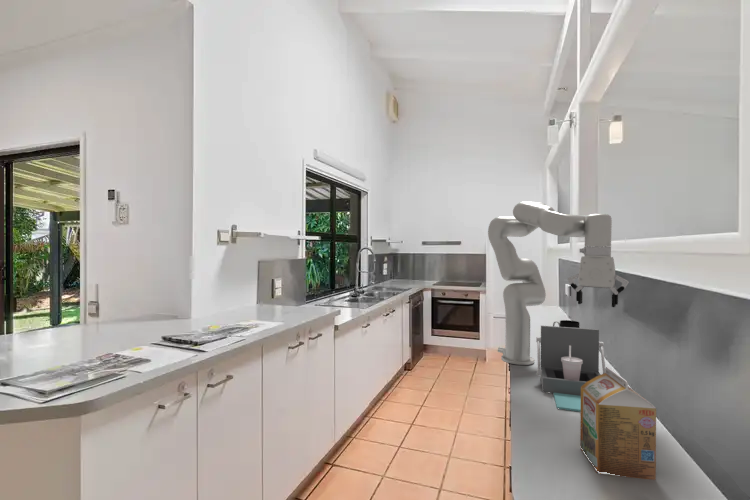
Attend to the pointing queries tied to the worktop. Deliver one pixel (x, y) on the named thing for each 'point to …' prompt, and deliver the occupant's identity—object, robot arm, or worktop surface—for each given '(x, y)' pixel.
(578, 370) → the smoothie
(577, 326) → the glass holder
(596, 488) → the worktop surface
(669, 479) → the worktop surface
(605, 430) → the milk carton
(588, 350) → the case
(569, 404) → the mat
